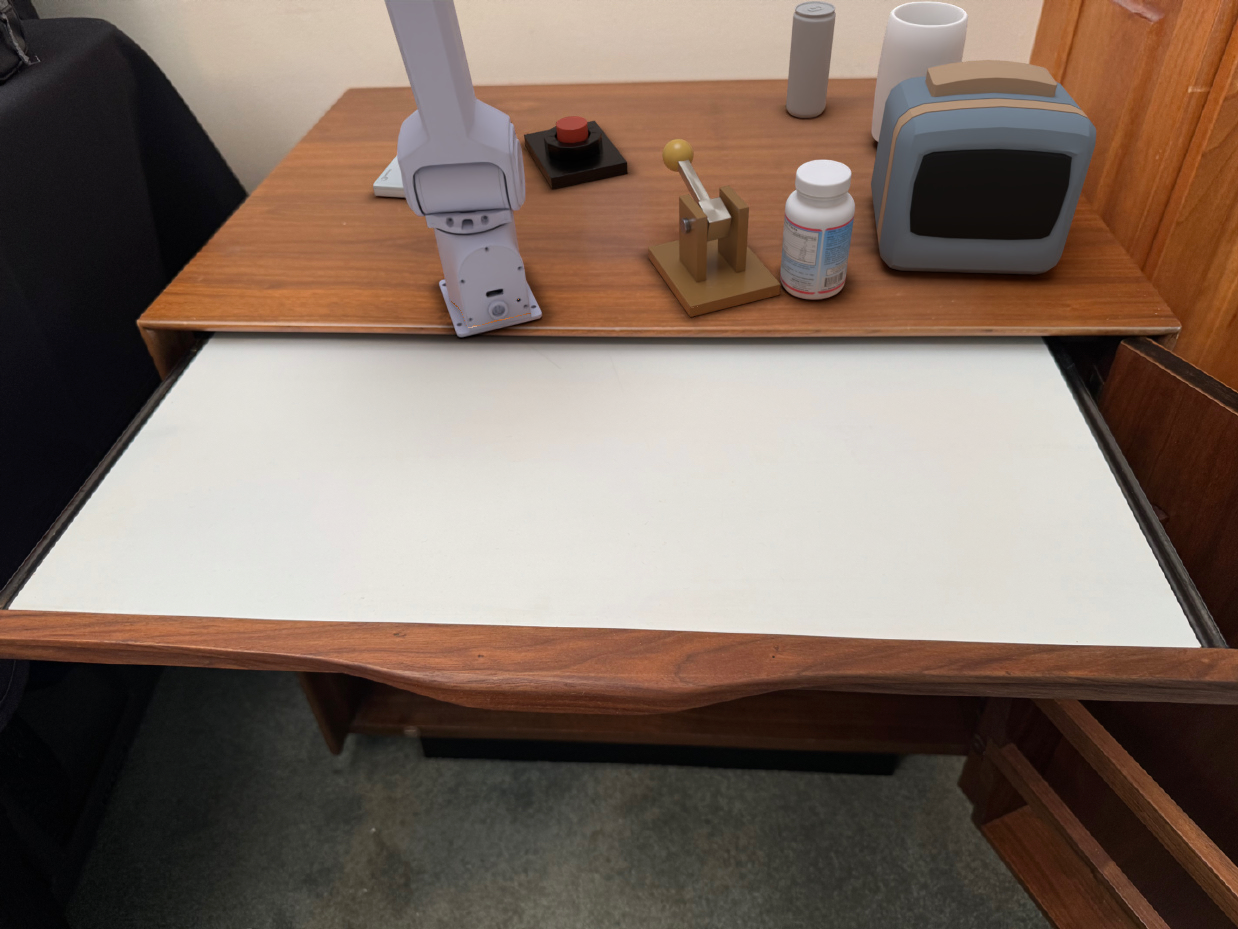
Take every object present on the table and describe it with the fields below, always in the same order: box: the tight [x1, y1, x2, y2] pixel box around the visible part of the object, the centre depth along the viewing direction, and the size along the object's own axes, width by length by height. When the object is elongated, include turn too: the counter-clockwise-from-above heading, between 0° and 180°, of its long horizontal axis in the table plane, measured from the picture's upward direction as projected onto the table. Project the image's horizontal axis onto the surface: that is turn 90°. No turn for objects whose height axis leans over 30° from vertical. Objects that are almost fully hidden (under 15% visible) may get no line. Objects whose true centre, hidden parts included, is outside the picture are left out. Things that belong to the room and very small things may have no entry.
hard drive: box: [372, 155, 406, 199], centre depth 101 cm, size 2×8×12 cm
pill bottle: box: [779, 159, 856, 300], centre depth 79 cm, size 6×6×11 cm
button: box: [555, 115, 588, 143], centre depth 101 cm, size 4×4×2 cm
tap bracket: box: [647, 185, 782, 318], centre depth 82 cm, size 11×9×8 cm
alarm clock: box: [870, 59, 1097, 276], centre depth 82 cm, size 16×16×16 cm
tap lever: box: [661, 138, 732, 242], centre depth 83 cm, size 12×3×3 cm, turn 19°
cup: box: [870, 0, 969, 142], centre depth 97 cm, size 8×8×14 cm
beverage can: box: [785, 0, 836, 119], centre depth 105 cm, size 5×5×12 cm
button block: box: [523, 120, 629, 190], centre depth 102 cm, size 12×9×3 cm
